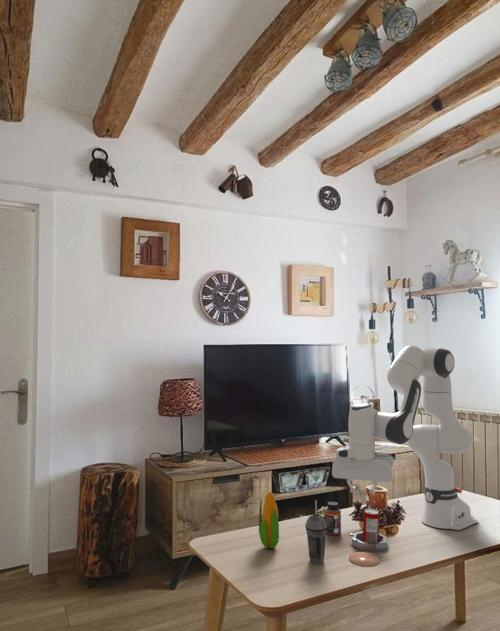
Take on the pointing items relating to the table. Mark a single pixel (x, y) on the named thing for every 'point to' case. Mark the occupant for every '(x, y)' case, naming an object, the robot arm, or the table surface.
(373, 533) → the soda can
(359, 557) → the peach dome
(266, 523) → the corn
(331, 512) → the supplement bottle
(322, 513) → the fruit
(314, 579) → the table surface
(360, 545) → the collar
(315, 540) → the beverage cup
